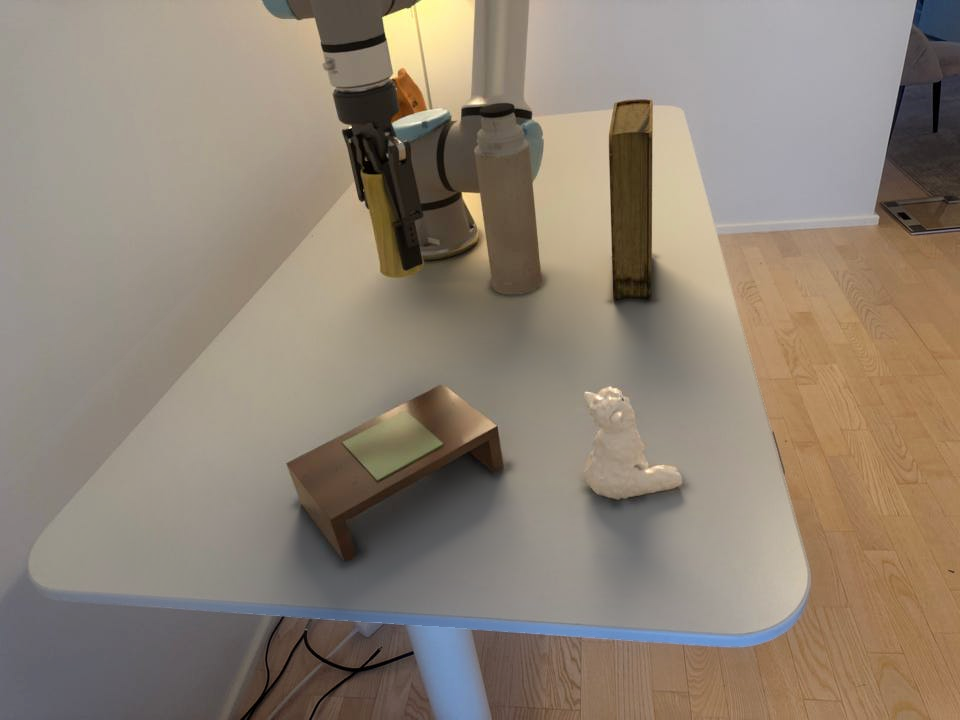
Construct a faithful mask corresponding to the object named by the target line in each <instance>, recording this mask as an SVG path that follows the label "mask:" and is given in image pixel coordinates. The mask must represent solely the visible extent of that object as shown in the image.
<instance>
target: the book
mask: <svg viewBox="0 0 960 720" xmlns="http://www.w3.org/2000/svg"><path fill="white" fill-rule="evenodd" d="M653 106H654V101H653V100H652V99H643V98H642V99H637V98H636V99H627V100H621V101H617V102H615V103H613V109H612V114H611V121H610V126H609V131H608V165H609V168H608V169H609V201H610V202H609V203H610V237H611V238H610V239H611V268H612V269H611V271H612V299H613V301H617V300H620V299H623V298H641V299H645V300H652V269H653V267H652V265H653V263H652V262H653V258H652V257H653V137H654V136H653V133H654V132H653V130H654V127H653V125H654V123H653V121H654V119H653V115H654V113H653V112H654V109H653V108H654V107H653Z"/></svg>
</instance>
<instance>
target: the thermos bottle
mask: <svg viewBox="0 0 960 720" xmlns="http://www.w3.org/2000/svg"><path fill="white" fill-rule="evenodd" d="M514 111H515V108H514V105H513V104H510V103H497V104H491V105H487V106H485V107H483V108H481V109H480V115H481V116H482V119H481V122H482V129H481V130H479V131H478V133H477V138H478V139H477V143H478V146H477V147H476V148H475V150H474V153H475V160H476V167H477V174H478V182H479V189H480V193H479V196H480V203H481V210H482V219H483V226H484V233H485V241H486V247H487V248H486V249H487V256H488V263H489V270H490V277H491V283H492V288H493V290H494V291H495V292H498V293H499V294H504V295H508V296H509V295H511V296H512V295H523V294H526V293H529V292H532V291H534V290H536V289H537V288H538V287H539V286H540V285H541V283H542V270H541V261H540V260H541V259H540V248H539V237H538V227H537V216H536V205H535V194H534V193H535V192H534V182H532V171H531V160H530V150H529V143H528V141H526V140H524V138H523V135H524V132H523V129H522V127H521V126H520V125H518V124H516V119H515V114H514Z"/></svg>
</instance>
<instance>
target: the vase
mask: <svg viewBox="0 0 960 720" xmlns="http://www.w3.org/2000/svg"><path fill="white" fill-rule="evenodd" d="M386 163H389V161H387V162H385V163H382V165H384V164H386ZM365 169H366V168H365V167H363V168H362V169H361V177H362V181H363V185H364V189H365V194H366V198H367V202H368V206H369V210H368V211H370V212H369V215H371V216H370V220H371V225H372V231H373V235H374V240H375V246H376V251H377V256H378V260H379V271H380V273H381V275H383V276H384V277H387V278H391V279H393V278H394V279H398V278H406V277H410V276H412V275H415V274H417V273H418V272H419V271H421V270H422V269H423V268H424V266H425V260H423V257H422V261H423V264H420V265H418V266H416V267H414V268H411V269H409V270H407V271H405V270H404V269H403V267H402V263H401V258H400V253H399V249H398V244H397V240H396V235H395V230H394V227H393V226H392V224H391V223H393V222H395V221H396V219H395V216H394V214H393V211H392V208H391V205H390V202H389V199H388V196H387V193H386V190H385V188H384V183H383V178H382V174H379V173H378V174H367V173H366V170H365ZM364 189H363V190H364ZM420 251H421V250H420ZM421 256H422V254H421Z"/></svg>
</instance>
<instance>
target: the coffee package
mask: <svg viewBox="0 0 960 720" xmlns="http://www.w3.org/2000/svg"><path fill="white" fill-rule="evenodd" d="M390 79H391V80H392V81H393V82H395V86H396V91H397V97H398V102H399V111H398V113H397V114H396V115H394V116H393V117H392V119H391V123H393V122H395V121H397V120H399V119H401V118H403V117H406V116H409V115H412V114H415V113H418V112H422V111H426V110H428V108H427V105H426V104H427V103H426V101H425V97H424V95H423V92H422V91H421V89H420V88H419V86H418V85H417V83H416V82H415V81H414V79H413V78H412V77H411V76H410V74H409V73H408V72H407V71H406V69H405V68H404V67H401V68H400V69H398V71H397V76H396V77H392V78H390Z"/></svg>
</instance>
